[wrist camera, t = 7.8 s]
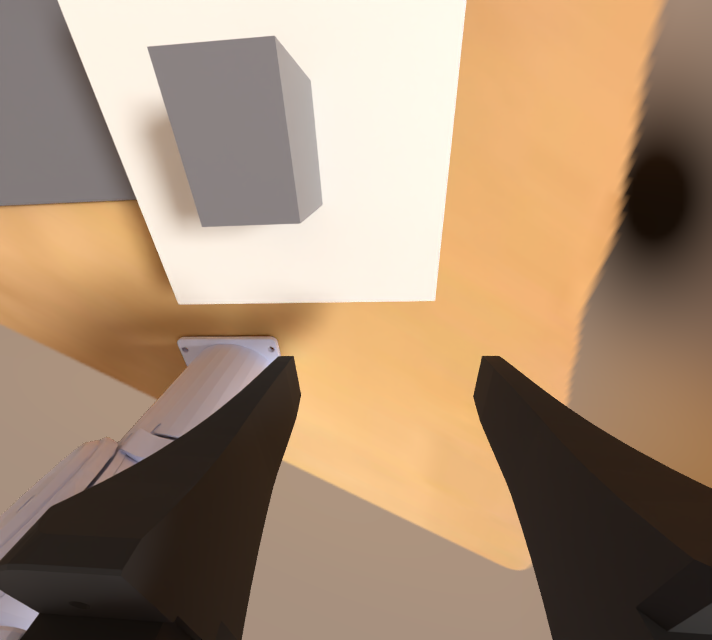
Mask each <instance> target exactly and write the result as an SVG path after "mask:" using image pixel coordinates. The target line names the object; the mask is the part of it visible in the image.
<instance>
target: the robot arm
mask: <svg viewBox="0 0 712 640" xmlns="http://www.w3.org/2000/svg"><path fill="white" fill-rule="evenodd" d="M177 344H178V347H179V349H180V351H181V354H182V356H183V358H184V361H185V363H186V365H187V368H186V369H185V370H184V371H183V372H182V373H181V374H180V375H179V377H178V378H177V379H176V380H175V381H174V382H173V383H172V384H171V385H170V386H169V387H168V389H167V390H166V391H165V392H164V393H163V394H162V395H161V396H160V397H159V398H158V400H157V401H156V402H155V403H154V404H153V405H152V406H151V407H150V408H149V409H148V410H147V412H146V413H145V414H144V415H143V416H142V417H141V418H140V419H139V420H138V421H137V423H136V424H135V425H134V426H133V427H132V428H131V429H130V430H129V431H128V433H127V434H126V435H125V436H124V437H123V438H122V439H121V440H120V441H119V442H116V441H114V440H113V439H111V438H109V437H106V438H102V439H100V440H96V441H90V442H86V443H84V444H82V445H81V446H79V447H78V448H77V449H75V450H74V451H73V452H71V453H70V454H69V455H68V456H66V457H65V458H64V459H63V460H62V461H60V462H59V463H58V464H57V465H56V466H55V467H53V468H52V469H51V470H50V471H49V472H48V473H47V474H46V475H44V476H43V477H42V478H41V479H40V480H39V481H38V482H36V483H35V484H34V485H33V486H32V487H31V488H30V489H29V490H28V491H27V492H25V493H24V494H23V495H22V496H21V497H20V498H19V499H18V500H17V501H16V502H15V503H13V504H12V505H11V506H10V507H9V508H8V509H7V510H6V511H5V512H4V513H3V514H2V515H1V516H0V640H242V634H243V628H244V622H245V617H246V612H247V606H248V601H249V596H250V590H251V585H252V580H253V575H254V570H255V565H256V560H257V555H258V550H259V546H260V541H261V537H262V532H263V528H264V524H265V519H266V515H267V511H268V506H269V502H270V498H271V494H272V490H273V486H274V483H275V479H276V476H277V473H278V470H279V467H280V464H281V461H282V458H283V456H284V453H285V450H286V447H287V444H288V441H289V438H290V435H291V432H292V429H293V426H294V423H295V420H296V417H297V412H298V408H299V402H300V397H301V392H300V387H299V382H298V377H297V371H296V366H295V361H294V356H281V354H280V350H279V345H278V341H277V339H276V338H274V337H271V336H245V337H181V338H180V339H179V340H178V341H177ZM185 347H186V348H188V349H186V348H185ZM270 347H273V348H274V349H271V348H270ZM473 397H474V401H475V405H476V408H477V412H478V415H479V419H480V422H481V424H482V427H483V429H484V431H485V434H486V436H487V439H488V441H489V443H490V446H491V448H492V450H493V452H494V455H495V457H496V459H497V462H498V464H499V466H500V469H501V471H502V473H503V476H504V478H505V480H506V483H507V485H508V488H509V491H510V493H511V496H512V499H513V502H514V505H515V508H516V511H517V514H518V518H519V521H520V524H521V527H522V530H523V533H524V537H525V540H526V543H527V547H528V550H529V553H530V557H531V560H532V564H533V567H534V571H535V574H536V578H537V581H538V585H539V589H540V592H541V596H542V599H543V603H544V607H545V611H546V615H547V619H548V623H549V627H550V631H551V635H552V639H553V640H712V488H709V487H707V486H705V485H703V484H701V483H699V482H697V481H695V480H693V479H691V478H689V477H687V476H685V475H683V474H681V473H679V472H677V471H675V470H673V469H671V468H669V467H667V466H665V465H663V464H661V463H660V462H658V461H656V460H654V459H652V458H650V457H648V456H646V455H645V454H643V453H641V452H639V451H637V450H636V449H634V448H632V447H630V446H628V445H627V444H625V443H623V442H621V441H620V440H618V439H616V438H615V437H613V436H611V435H610V434H608V433H606V432H605V431H603V430H602V429H600V428H598V427H597V426H595V425H593V424H592V423H590V422H589V421H587V420H586V419H584V418H583V417H581V416H580V415H578V414H577V413H575V412H574V411H572V410H571V409H569V408H568V407H566V406H565V405H564V404H562V403H561V402H559V401H558V400H557V399H555V398H554V397H552V396H551V395H550V394H548V393H547V392H546V391H544V390H543V389H542V388H540V387H539V386H538V385H536V384H535V383H534V382H532V381H531V380H530V379H529V378H527V377H526V376H525V375H523V374H522V373H521V372H520V371H518V370H517V369H516V368H514V367H513V366H512V365H511V364H509V363H508V362H507V361H505V360H504V359H503V358H501V357H500V356H482V359H481V364H480V368H479V373H478V377H477V382H476V387H475V391H474V396H473Z"/></svg>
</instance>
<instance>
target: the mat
mask: <svg viewBox="0 0 712 640" xmlns="http://www.w3.org/2000/svg"><path fill="white" fill-rule="evenodd" d="M115 200H137V199H136V196H135V194H134V191H133V189H132V186H131V184H130V181H129V179H128V176H127V174H126V171H125V169H124V166H123V164H122V161H121V159H120V156H119V154H118V151H117V149H116V146H115V144H114V141H113V139H112V136H111V134H110V131H109V128H108V126H107V123H106V121H105V118H104V116H103V113H102V111H101V108H100V106H99V103H98V101H97V98H96V96H95V93H94V91H93V88H92V86H91V83H90V81H89V78H88V76H87V73H86V71H85V68H84V66H83V63H82V61H81V58H80V56H79V53H78V51H77V48H76V46H75V43H74V41H73V38H72V36H71V33H70V31H69V28H68V26H67V23H66V21H65V18H64V15H63V13H62V10H61V8H60V5H59V3H58V0H0V206H4V205H26V204H49V203H71V202H93V201H115Z"/></svg>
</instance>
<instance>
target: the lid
mask: <svg viewBox="0 0 712 640" xmlns="http://www.w3.org/2000/svg"><path fill="white" fill-rule="evenodd" d="M58 3H59V5H60V8H61V10H62V13H63V15H64V18H65V21H66V23H67V26H68V28H69V31H70V33H71V36H72V38H73V41H74V43H75V46H76V48H77V51H78V53H79V56H80V58H81V61H82V63H83V66H84V68H85V71H86V73H87V76H88V78H89V81H90V83H91V86H92V88H93V91H94V93H95V96H96V98H97V101H98V103H99V106H100V108H101V111H102V113H103V116H104V118H105V121H106V123H107V126H108V128H109V131H110V134H111V136H112V139H113V141H114V144H115V146H116V149H117V151H118V154H119V156H120V159H121V161H122V164H123V166H124V169H125V171H126V174H127V176H128V179H129V181H130V184H131V186H132V189H133V191H134V194H135V196H136V199H137V201H138V204H139V206H140V209H141V211H142V214H143V216H144V219H145V221H146V224H147V226H148V229H149V231H150V234H151V236H152V239H153V241H154V244H155V247H156V249H157V252H158V254H159V257H160V259H161V262H162V264H163V267H164V269H165V272H166V274H167V277H168V279H169V282H170V284H171V287H172V289H173V292H174V294H175V297H176V299H177V302H178V304H247V303H318V302H388V301H435V295H436V286H437V276H438V267H439V257H440V247H441V238H442V228H443V219H444V209H445V200H446V190H447V180H448V171H449V161H450V152H451V142H452V133H453V123H454V114H455V104H456V94H457V85H458V75H459V66H460V56H461V47H462V37H463V28H464V18H465V8H466V0H58Z"/></svg>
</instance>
